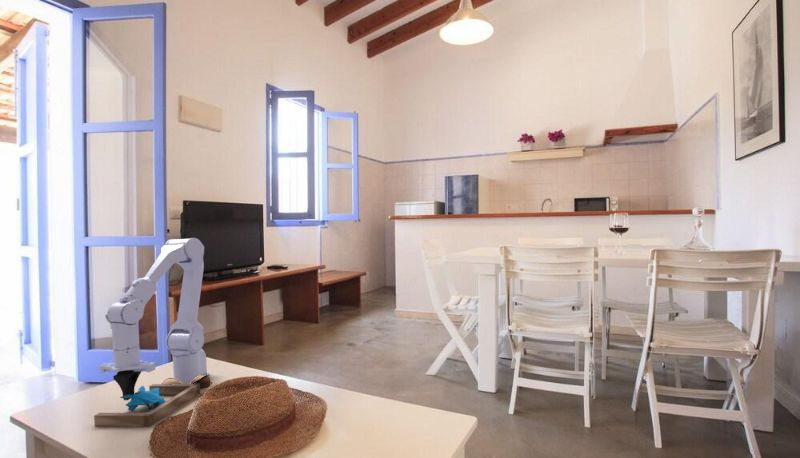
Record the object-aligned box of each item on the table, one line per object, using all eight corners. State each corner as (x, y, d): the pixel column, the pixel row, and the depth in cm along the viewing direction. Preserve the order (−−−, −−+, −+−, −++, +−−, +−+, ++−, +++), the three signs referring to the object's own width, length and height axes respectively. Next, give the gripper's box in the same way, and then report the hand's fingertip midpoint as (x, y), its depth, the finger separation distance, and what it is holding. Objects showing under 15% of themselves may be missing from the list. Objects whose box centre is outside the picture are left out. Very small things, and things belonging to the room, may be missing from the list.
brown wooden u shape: (153, 392, 113) (153, 384, 113) (200, 392, 111) (199, 383, 111) (94, 426, 94) (94, 415, 94) (149, 426, 93) (148, 415, 93)
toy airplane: (118, 419, 97) (117, 402, 97) (125, 403, 106) (124, 388, 106) (172, 408, 102) (171, 392, 102) (174, 394, 111) (174, 379, 111)
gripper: (88, 352, 101) (90, 405, 101) (139, 351, 99) (142, 405, 99) (111, 344, 108) (114, 393, 108) (159, 343, 106) (162, 393, 106)
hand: (129, 398), depth 104 cm, fingers closed
